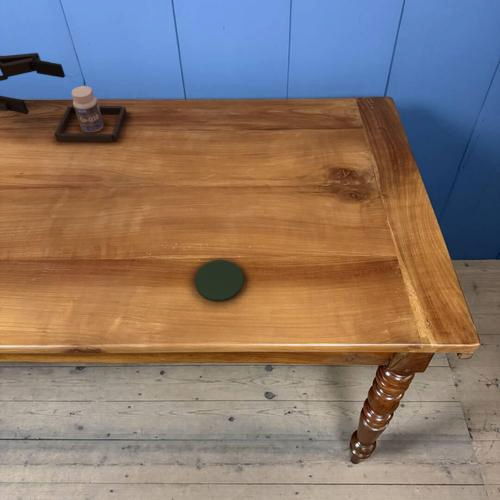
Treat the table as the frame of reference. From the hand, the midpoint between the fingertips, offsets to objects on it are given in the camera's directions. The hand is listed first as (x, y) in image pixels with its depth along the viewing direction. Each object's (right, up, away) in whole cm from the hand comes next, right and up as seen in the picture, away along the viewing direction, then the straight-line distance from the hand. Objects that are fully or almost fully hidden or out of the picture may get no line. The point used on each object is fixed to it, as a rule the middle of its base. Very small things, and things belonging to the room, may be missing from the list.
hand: (44, 88), depth 93 cm
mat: (+37, -38, -21) cm, 57 cm away
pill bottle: (+8, -7, +4) cm, 12 cm away
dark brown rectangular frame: (+8, -7, +4) cm, 11 cm away
